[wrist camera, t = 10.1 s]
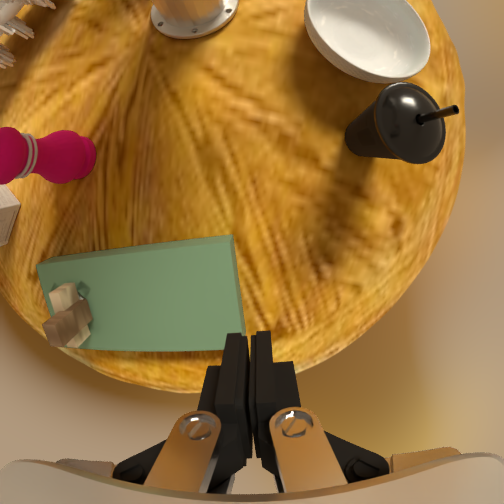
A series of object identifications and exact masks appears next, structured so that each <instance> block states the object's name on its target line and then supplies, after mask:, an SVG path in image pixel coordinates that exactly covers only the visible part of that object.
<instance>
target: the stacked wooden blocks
mask: <svg viewBox="0 0 504 504" xmlns="http://www.w3.org/2000/svg"><path fill="white" fill-rule="evenodd" d="M49 297H50V300H51V303H52V306H53V309H54V312H55V315H53V316H52V317H51V318H50V319H48V320H47V321H46V322H45V323H43V324H42V326H43V328H44V331H45V334H46V336H47V339H48V341H49V343H50V346H55V347H64V346H65V345H67V347H72V348H78V347H79V346H80V345H81V344H82V343H83V342H84V341H85V340H86V339H87V338H88V336H89V335H90V334H91V333H90V331H89V328H88V325H87V324H88V323H89V322H90V321H91V320H92V319H93V318H92V315H91V311H90V308H89V305H88V302H87V299H79V296H78V293H77V289H76V286H75V283H64V284H63V285H61V286H59V287H58V288H56V289H55V290H53V291H52V292H50V293H49Z"/></svg>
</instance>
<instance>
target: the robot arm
mask: <svg viewBox="0 0 504 504" xmlns="http://www.w3.org/2000/svg"><path fill="white" fill-rule="evenodd" d="M151 1H152V2H153V6H152V8H151V20H152V22H153V24H154V26H155V27H156V29H157V30H158V31H160V32H161V33H162V34H164V35H166V36H168V37H172V38H177V39H192V38H198V37H202V36H205V35H208V34H211V33H213V32H215V31H217V30H219V29H220V28H222V27H223V26H225V25H226V24H227V23H228V22H229V21H230V20H231V19H232V18H233V17H234V15H235V13H236V11H237V9H238V5H239V0H151ZM196 32H197V33H196ZM253 437H254V444H255V450H256V457H257V458H261V460H262V467H263V468H265V469H266V470H268V471H269V472H271V473H272V474H273V476H274V481H275V485H276V489H277V493H274V494H250V495H249V494H248V495H247V494H246V495H245V494H241V495H240V494H239V495H238V494H231V491H232V487H233V483H234V480H235V473H236V472H237V471H239V470H240V469H241V468H243V466H246V459H247V458H252V443H253V441H252V440H253ZM0 504H504V459H503V458H502V457H500V456H498V455H496V454H492V453H484V452H480V453H466V454H461V453H460V452H459V451H458V450H457V449H455V448H452V447H442V448H436V449H431V450H425V451H418V452H411V453H402V454H393V455H392V457H389V458H383V457H382V456H380V455H378V454H376V453H374V452H371V451H369V450H366V449H364V448H361V447H359V446H356V445H354V444H352V443H350V442H347V441H345V440H343V439H341V438H338V437H336V436H334V435H332V434H330V433H328V432H326V431H324V430H323V429H322V426H321V424H320V422H319V420H318V418H317V416H316V415H315V414H314V413H313V412H312V411H310V410H308V409H305V408H301V404H300V398H299V392H298V387H297V381H296V375H295V370H294V364H293V361H288V362H276V363H273V357H272V345H271V332H270V331H257V332H256V335H251V352H250V357H249V348H248V339H247V336H242V333H241V332H240V333H227V336H226V341H225V347H224V352H223V358H222V363H221V366H208V368H207V371H206V376H205V380H204V384H203V388H202V392H201V397H200V401H199V405H198V409H197V411H193V412H189V413H187V414H184V415H183V416H181V417H180V418H179V419H178V420H177V422H176V423H175V425H174V427H173V429H172V431H171V433H170V435H169V437H168V439H166V440H164V441H162V442H161V443H159V444H157V445H155V446H153V447H151V448H149V449H147V450H145V451H143V452H141V453H138V454H136V455H134V456H132V457H130V458H128V459H126V460H124V461H122V462H120V463H119V464H118V465H114V464H113V462H102V461H87V460H76V459H61V460H59V461H57V462H56V463H54V462H49V461H42V460H30V459H24V460H15V461H12V462H10V463H8V464H7V465H6V466H4V467H3V468H2V469H1V470H0Z"/></svg>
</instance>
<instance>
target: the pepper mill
mask: <svg viewBox="0 0 504 504" xmlns="http://www.w3.org/2000/svg"><path fill="white" fill-rule="evenodd" d="M95 160H96V150H95V146H94V144H93V142H92V141H91V140H90V139H89V138H87V137H82V136H79V135H78V134H77V133H75V132H73V131H68V130H61V131H57V132H54V133H51V134H50V135H48V136H46V137H44V138H41V139H35V138H34V137H33V136H32V135H31V134H24V133H20V132H19V131H17V130H16V129H15V128H12V127H2V128H0V185H4V184H7V183H9V182H10V181H12V180H13V179H14V178H15V179H17V178H24V177H27V176H28V175H29V174H30V173H37V174H40V175H41V176H42V177H43V178H45V179H46V180H48V181H50V182H52V183H58V184H64V183H67V182H70V181H71V180H73V179H81V178H83V177H85V176H87V175H88V174H89V173H90V171H91V170H92V168H93V166H94V164H95Z"/></svg>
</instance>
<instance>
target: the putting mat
mask: <svg viewBox="0 0 504 504" xmlns="http://www.w3.org/2000/svg"><path fill="white" fill-rule="evenodd" d="M36 268H37V272H38V276H39V280H40V283H41V287H42V290H43V294H44V297H45V300H46V303H47V306H48V309H49V312H50V315H51V317H52V316H53V315H55V312H54V309H53V306H52V303H51V300H50V297H49V293H50V292H52V291H53V290H55V289H56V288H58V287H59V286H61V285H63V284H64V283H75V286H76V289H77V291H78V292H79V293H80V294H81V295H82V296H83V297H84V298H86V299H87V302H88V305H89V308H90V311H91V315H92V318H93V319H92V320H91V321H90V322H89V323H88V324H87V325H88V328H89V331H90V333H91V334H90V335H89V336H88V338H87V339H86V340H85V341H84V342H83V343H82V344H81V345H80V346H79V347H78V348H79V349H94V350H114V351H204V350H224V347H225V341H226V336H227V333H240V332H241V333H242V336H245V335H246V329H245V322H244V315H243V307H242V300H241V293H240V285H239V278H238V270H237V262H236V255H235V247H234V239H233V235H223V236H214V237H206V238H197V239H188V240H180V241H171V242H163V243H155V244H147V245H139V246H131V247H123V248H115V249H108V250H100V251H93V252H86V253H78V254H71V255H64V256H57V257H52V258H49V259H47V260H45V261H43V262H41V263H39V264H37V265H36ZM64 347H67V345H65V346H64ZM67 348H72V347H67Z"/></svg>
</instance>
